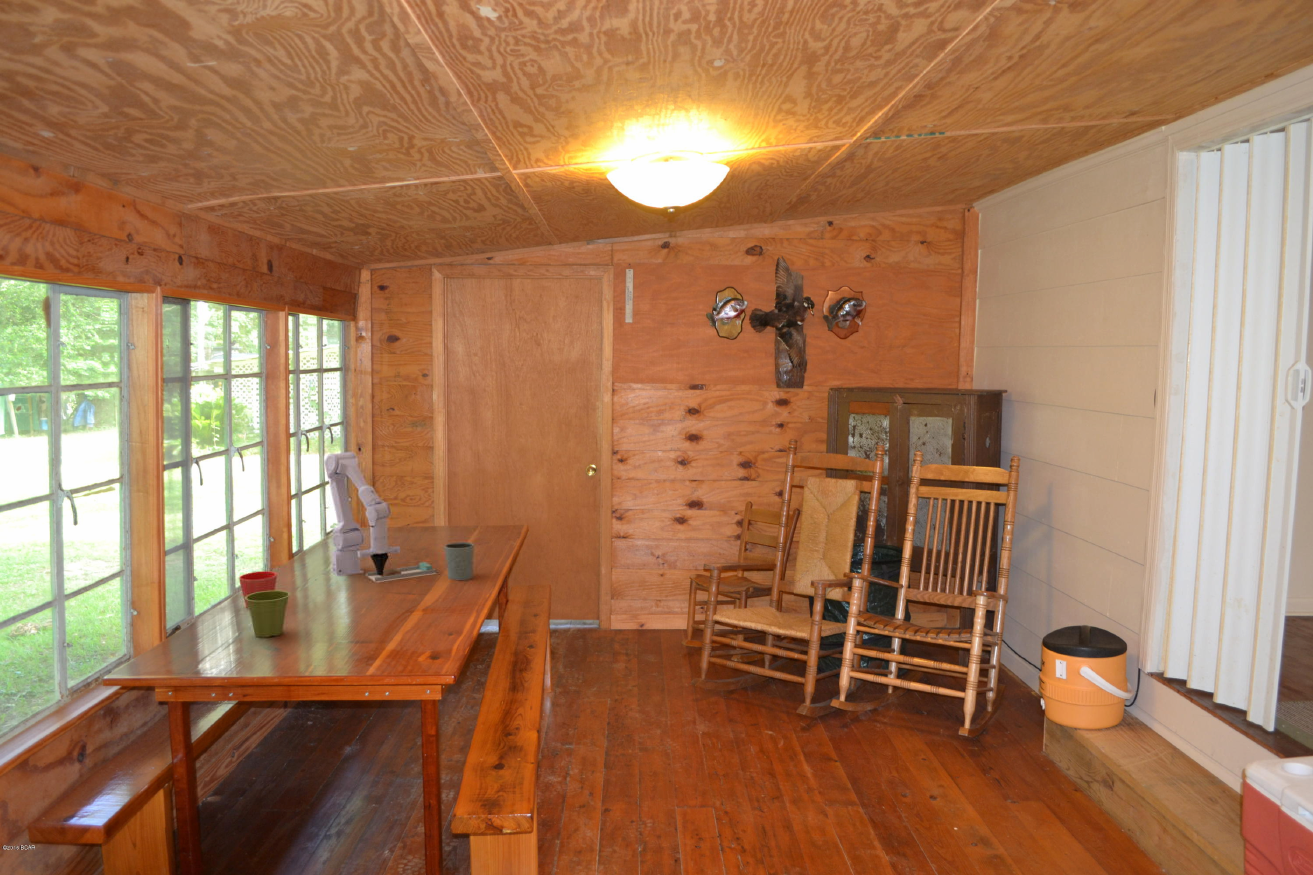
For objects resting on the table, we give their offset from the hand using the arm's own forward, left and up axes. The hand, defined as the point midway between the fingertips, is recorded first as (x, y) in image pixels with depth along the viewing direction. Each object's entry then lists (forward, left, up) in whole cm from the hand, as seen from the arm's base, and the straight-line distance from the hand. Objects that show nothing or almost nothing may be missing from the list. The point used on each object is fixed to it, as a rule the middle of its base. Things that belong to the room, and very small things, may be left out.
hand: (379, 574), depth 313 cm
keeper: (+4, 0, -1) cm, 4 cm away
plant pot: (-46, -44, -2) cm, 64 cm away
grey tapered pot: (+24, -15, -2) cm, 28 cm away
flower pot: (-42, -11, -2) cm, 44 cm away
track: (+8, 0, -2) cm, 8 cm away
